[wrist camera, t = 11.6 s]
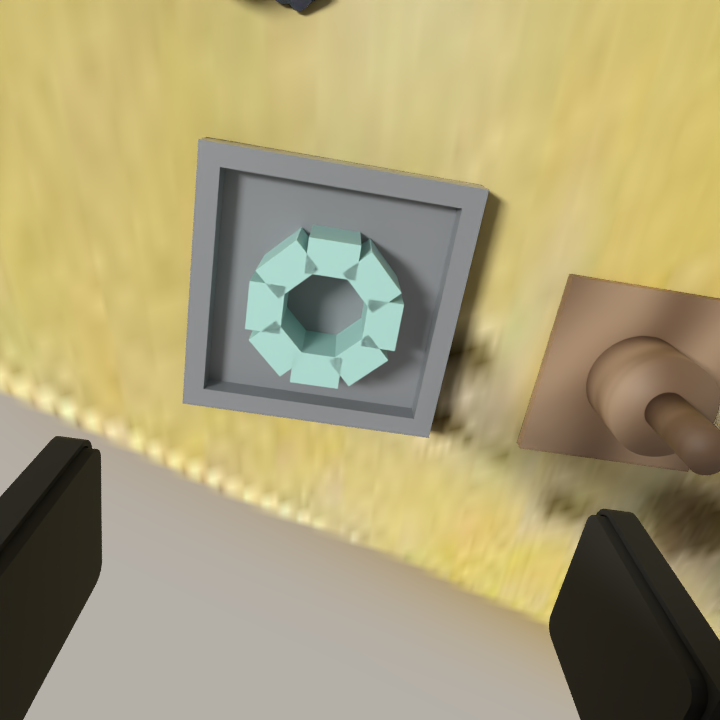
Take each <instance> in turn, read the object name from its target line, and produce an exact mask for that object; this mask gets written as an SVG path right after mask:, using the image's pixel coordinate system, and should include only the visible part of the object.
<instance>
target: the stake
mask: <svg viewBox="0 0 720 720" xmlns="http://www.w3.org/2000/svg"><path fill="white" fill-rule="evenodd" d="M719 404H720V299H719V298H713V297H707V296H701V295H695V294H689V293H683V292H677V291H671V290H665V289H659V288H653V287H646V286H640V285H634V284H628V283H622V282H616V281H610V280H604V279H598V278H592V277H586V276H580V275H574V274H569V277H568V280H567V284H566V287H565V290H564V293H563V296H562V300H561V303H560V306H559V309H558V312H557V316H556V319H555V322H554V325H553V329H552V332H551V335H550V338H549V341H548V345H547V348H546V351H545V354H544V358H543V361H542V364H541V367H540V370H539V374H538V377H537V380H536V383H535V387H534V390H533V393H532V396H531V399H530V403H529V406H528V409H527V412H526V415H525V419H524V422H523V425H522V428H521V432H520V435H519V438H518V441H517V443H518V445H519V447H520V448H523V449H530V450H538V451H545V452H552V453H559V454H566V455H573V456H580V457H587V458H595V459H602V460H609V461H616V462H623V463H630V464H637V465H644V466H651V467H659V468H666V469H673V470H680V471H687V472H688V470H689V468H690V469H691V470H692V471H693V472H695V473H697V474H700V475H711V474H715V473H717V472H719V471H720V430H719V429H718V428H717V427H716V426H714V425H713V422H714V420H715V419H716V416H717V413H718V410H719Z"/></svg>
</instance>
